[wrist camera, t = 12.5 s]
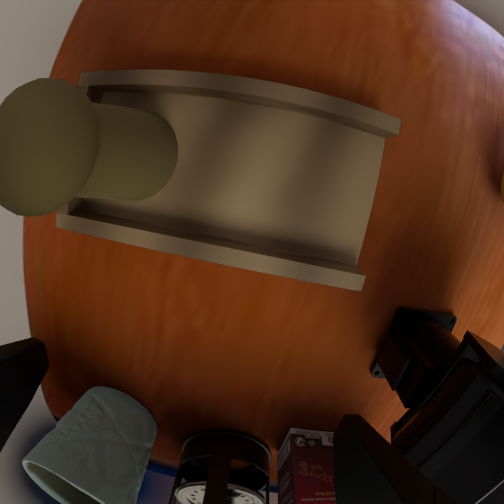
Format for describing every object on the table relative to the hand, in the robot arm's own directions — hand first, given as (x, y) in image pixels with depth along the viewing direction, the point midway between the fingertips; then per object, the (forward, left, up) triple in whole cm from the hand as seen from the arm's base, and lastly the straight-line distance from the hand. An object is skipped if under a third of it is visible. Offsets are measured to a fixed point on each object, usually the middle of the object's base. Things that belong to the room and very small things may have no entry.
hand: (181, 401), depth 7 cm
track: (+2, -6, -13) cm, 14 cm away
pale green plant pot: (+9, +19, -13) cm, 25 cm away
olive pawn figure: (+7, -6, -12) cm, 15 cm away
